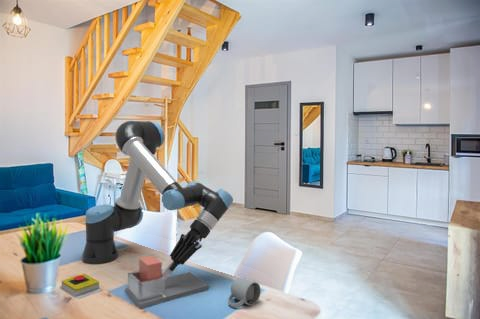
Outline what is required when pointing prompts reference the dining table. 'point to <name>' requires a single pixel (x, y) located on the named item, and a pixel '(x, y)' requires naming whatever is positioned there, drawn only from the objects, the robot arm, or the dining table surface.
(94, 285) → the emergency button
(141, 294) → the grey box holder bracket
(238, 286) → the ceramic mug
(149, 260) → the pink box with dome
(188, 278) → the stand board
